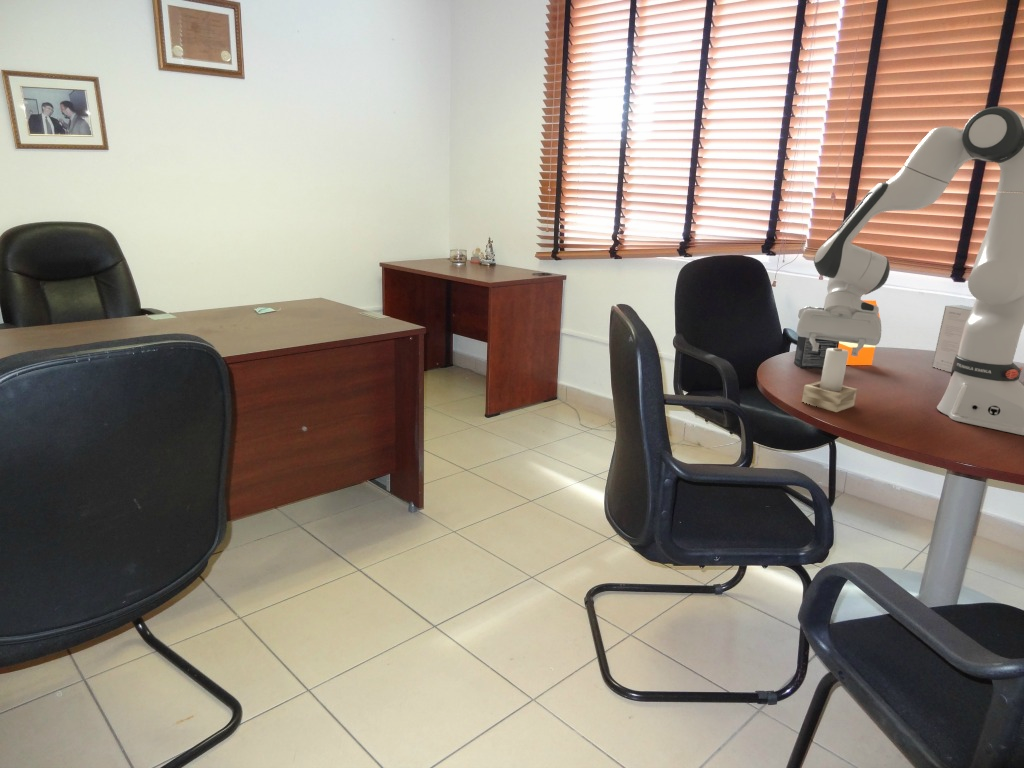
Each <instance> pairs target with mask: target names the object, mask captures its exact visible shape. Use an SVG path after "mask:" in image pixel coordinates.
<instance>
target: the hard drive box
mask: <svg viewBox="0 0 1024 768" xmlns="http://www.w3.org/2000/svg"><path fill="white" fill-rule="evenodd" d="M972 308H973V306H969V305H968V306H967V305H961V304H960V305H959V304H958V305H956V304H953V305H945V306H944V310H943V315H942V319H941V325H940V328H939V334H938V338H937V342H936V347H935V352H934V356H933V359H932V360H933V361H932V364H931V365H932V366H931V367H932V368H933V367H935V368H934V369H937V368H938V370H940V369H941V370H940V371H943V370H945V371H944V372H947V373H951V368H952V364H953V361H954V359H955V356H956V355H958V351H959V347H960V343H961V339H962V335H963V331H964V326H965V323H966V321H967V320H968V318H969V315H970V313H971V311H972Z"/></svg>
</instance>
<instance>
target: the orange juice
mask: <svg viewBox="0 0 1024 768" xmlns="http://www.w3.org/2000/svg"><path fill="white" fill-rule="evenodd" d="M861 300H862V301H864V302H867V303H870V304H873V305H876V306H878V303H877V301H876V300H873V299H871V300H870V299H869V300H868V299H867V300H863V299H861ZM878 316H879V318H880V319H881V316H880V312H878ZM857 346H858V344H856V343H848V342H840V341H839V346H838V348H840V349H843V350H847V351H849V354H848V359H847V364H846V365H873V360H874V355H875V349H876V346H877V345H875V346H872V345H864V346H863V348H862V349H861V350H860V351H859V352H858V356H857V357H856V356H851V354H852V348H853V347H855V348H856V347H857Z"/></svg>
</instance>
